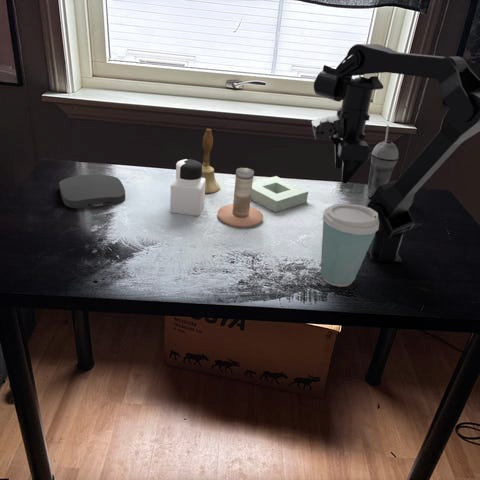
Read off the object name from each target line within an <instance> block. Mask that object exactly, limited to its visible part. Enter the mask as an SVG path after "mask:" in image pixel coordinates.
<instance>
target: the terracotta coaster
mask: <svg viewBox="0 0 480 480" xmlns="http://www.w3.org/2000/svg"><path fill="white" fill-rule="evenodd" d="M232 211H233V203H232V204H231V203H230V204H226V205H223V206H221V207H220V208H219V209H218V211H217V219H218V220H219V221H220V222H221V223H223V224H224V225H226V226H230V227H234V228H243V229H246V228H247V229H248V228H254V227H257V226H259V225H261V224H262V223H263V220H264V214H263V213H262V211H261V210H259V209H258V208H256V207H254V206H251V205H250V209H249V216H248V217H245V218H238V217H235V216H234V215H233V214H232Z"/></svg>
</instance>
